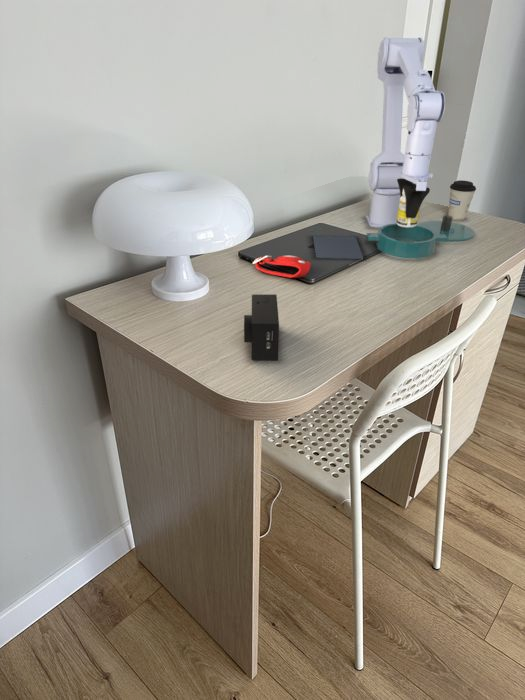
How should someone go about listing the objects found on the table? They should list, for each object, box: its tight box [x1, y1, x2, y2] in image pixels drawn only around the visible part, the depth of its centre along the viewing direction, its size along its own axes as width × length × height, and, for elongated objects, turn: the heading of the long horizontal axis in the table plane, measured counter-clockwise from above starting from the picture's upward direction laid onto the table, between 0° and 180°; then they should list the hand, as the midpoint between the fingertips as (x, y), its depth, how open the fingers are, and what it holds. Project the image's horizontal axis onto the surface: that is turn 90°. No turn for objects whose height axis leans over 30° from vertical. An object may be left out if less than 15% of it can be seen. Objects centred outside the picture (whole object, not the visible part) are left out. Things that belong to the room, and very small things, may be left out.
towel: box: [312, 235, 364, 260], centre depth 125 cm, size 14×11×1 cm
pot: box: [365, 223, 448, 259], centre depth 123 cm, size 14×19×4 cm
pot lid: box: [417, 214, 475, 242], centre depth 133 cm, size 15×15×5 cm
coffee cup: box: [447, 179, 477, 220], centre depth 142 cm, size 7×7×10 cm
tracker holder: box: [252, 254, 312, 279], centre depth 111 cm, size 12×4×10 cm
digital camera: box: [243, 293, 280, 361], centre depth 85 cm, size 10×5×7 cm, turn 1°
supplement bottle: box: [397, 189, 421, 227], centre depth 119 cm, size 5×5×8 cm
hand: (408, 213), depth 119 cm, fingers closed on supplement bottle, 5 cm apart
